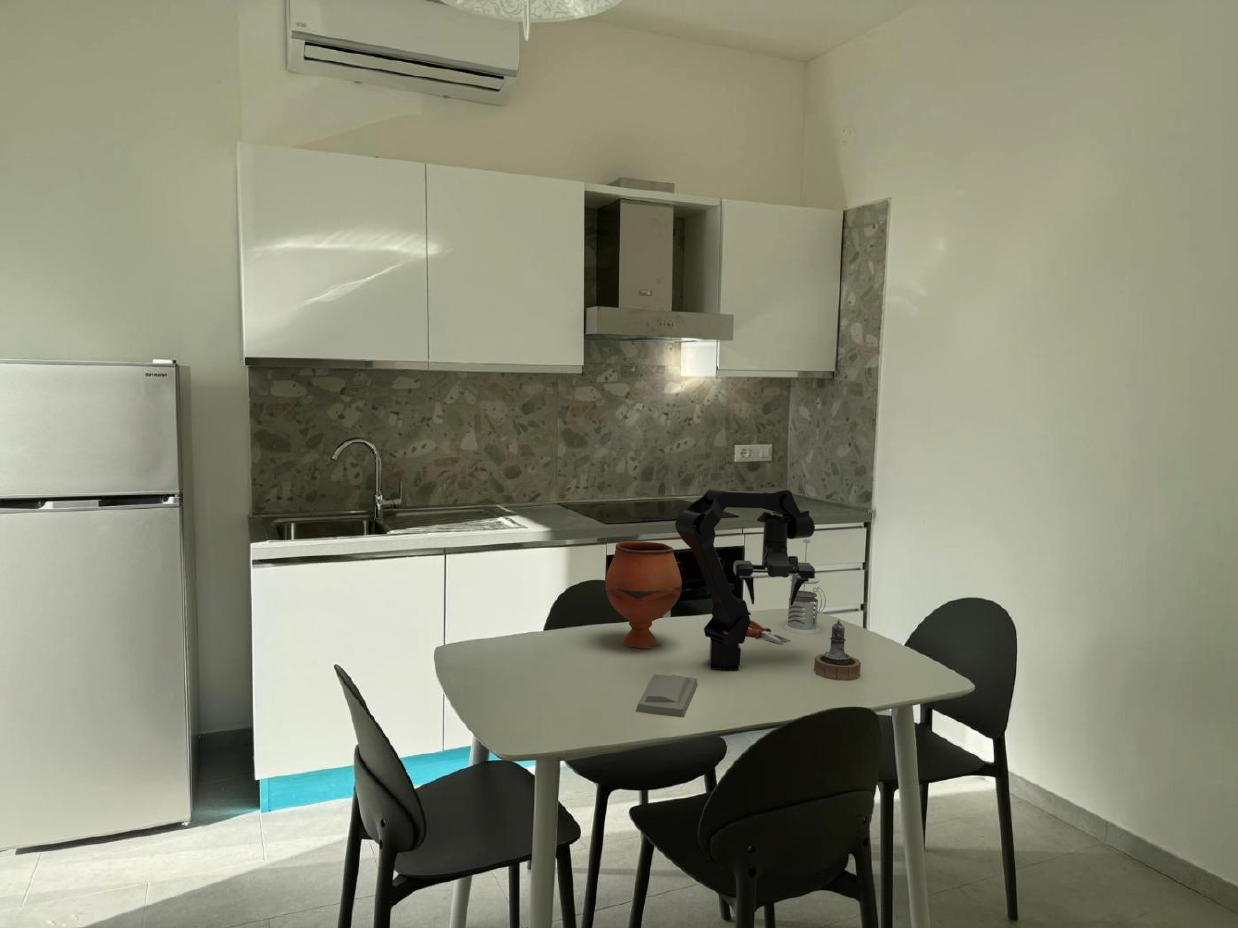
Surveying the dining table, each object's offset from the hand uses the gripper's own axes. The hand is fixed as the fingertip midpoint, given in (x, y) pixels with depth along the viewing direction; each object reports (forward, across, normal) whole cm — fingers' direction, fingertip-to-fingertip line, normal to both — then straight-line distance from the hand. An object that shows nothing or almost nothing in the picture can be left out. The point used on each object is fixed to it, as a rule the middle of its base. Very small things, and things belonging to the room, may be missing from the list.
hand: (771, 604), depth 216 cm
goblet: (+13, -31, +8) cm, 35 cm away
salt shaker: (+13, +14, -10) cm, 21 cm away
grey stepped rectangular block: (+14, -26, -30) cm, 42 cm away
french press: (+13, +14, +27) cm, 33 cm away
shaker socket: (+13, +14, -10) cm, 21 cm away
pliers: (+14, -2, +19) cm, 24 cm away
